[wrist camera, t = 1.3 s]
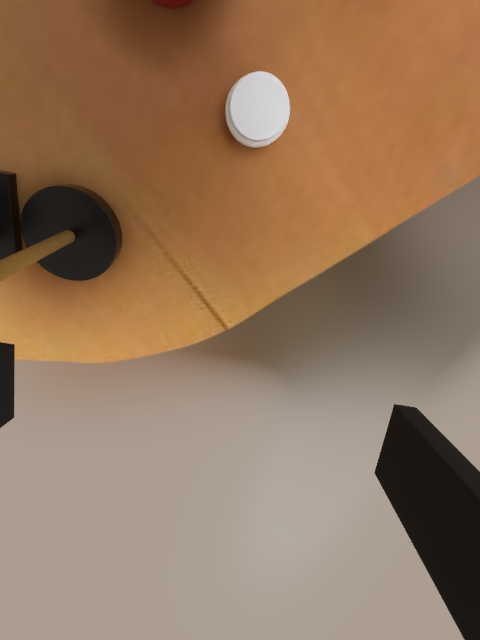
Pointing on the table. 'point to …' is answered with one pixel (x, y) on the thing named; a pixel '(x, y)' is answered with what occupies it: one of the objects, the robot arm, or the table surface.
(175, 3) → the plastic cup
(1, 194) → the switch base
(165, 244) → the table surface
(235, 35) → the table surface
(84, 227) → the desk lamp
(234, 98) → the supplement bottle
